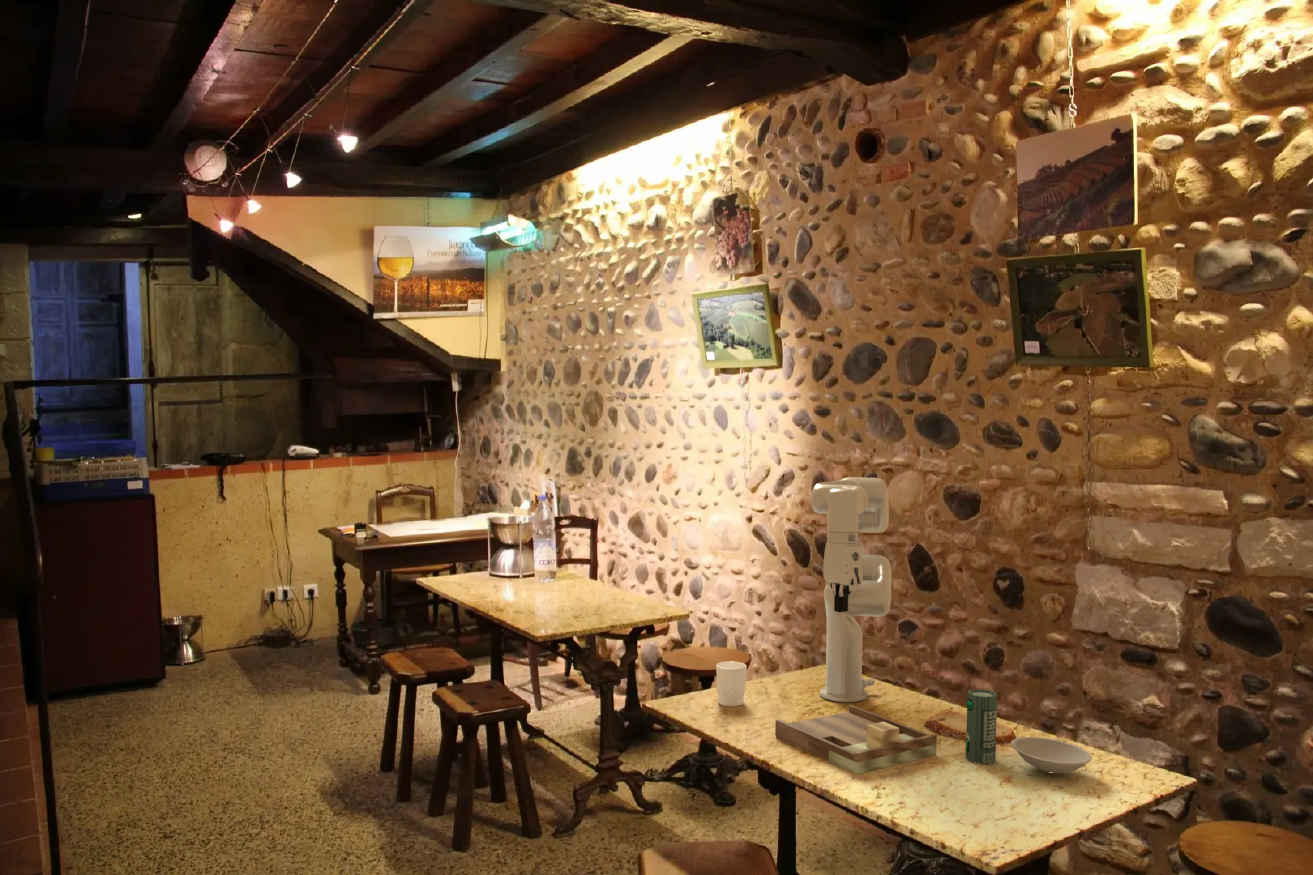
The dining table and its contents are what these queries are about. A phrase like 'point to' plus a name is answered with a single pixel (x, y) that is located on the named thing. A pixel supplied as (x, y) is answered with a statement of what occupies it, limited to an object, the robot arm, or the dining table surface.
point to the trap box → (855, 740)
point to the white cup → (731, 683)
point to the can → (981, 726)
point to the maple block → (881, 734)
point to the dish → (1051, 754)
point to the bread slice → (962, 727)
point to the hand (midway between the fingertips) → (841, 611)
